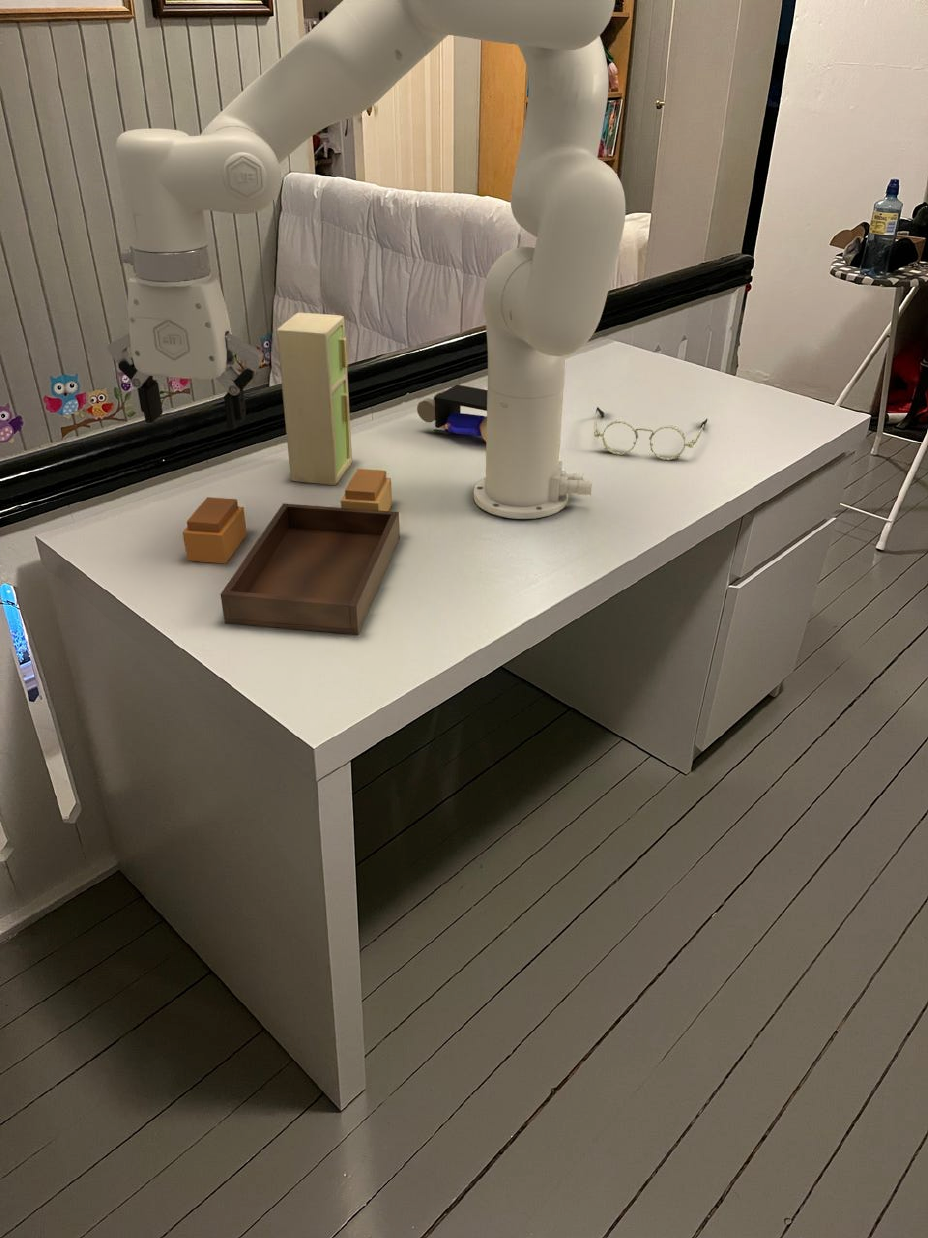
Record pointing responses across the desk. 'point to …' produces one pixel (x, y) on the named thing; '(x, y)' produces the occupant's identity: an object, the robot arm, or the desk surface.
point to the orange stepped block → (215, 530)
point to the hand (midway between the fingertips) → (195, 421)
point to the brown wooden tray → (313, 569)
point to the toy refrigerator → (315, 396)
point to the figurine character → (456, 411)
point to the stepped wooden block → (368, 491)
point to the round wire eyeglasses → (649, 437)
